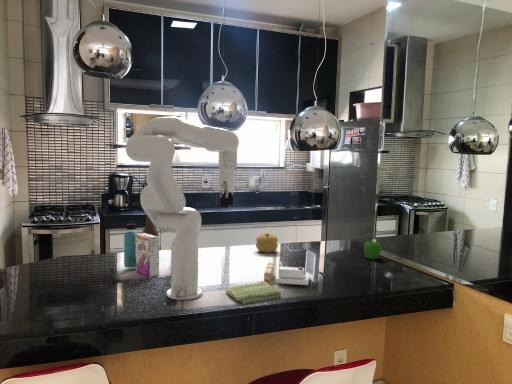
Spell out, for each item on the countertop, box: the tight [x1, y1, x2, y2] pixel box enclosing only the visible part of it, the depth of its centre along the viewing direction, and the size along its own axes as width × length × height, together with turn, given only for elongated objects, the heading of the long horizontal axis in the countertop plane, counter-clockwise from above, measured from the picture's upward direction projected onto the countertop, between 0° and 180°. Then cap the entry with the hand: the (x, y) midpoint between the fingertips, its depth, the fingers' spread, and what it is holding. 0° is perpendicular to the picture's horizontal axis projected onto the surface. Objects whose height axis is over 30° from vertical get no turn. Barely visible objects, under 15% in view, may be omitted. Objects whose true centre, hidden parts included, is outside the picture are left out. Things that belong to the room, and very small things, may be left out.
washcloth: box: [225, 280, 282, 305], centre depth 145 cm, size 13×18×3 cm
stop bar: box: [278, 266, 305, 280], centre depth 162 cm, size 4×10×6 cm, turn 83°
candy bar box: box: [135, 232, 160, 278], centre depth 168 cm, size 11×5×16 cm, turn 47°
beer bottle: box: [141, 213, 159, 237], centre depth 189 cm, size 8×8×24 cm
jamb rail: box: [263, 262, 275, 286], centre depth 164 cm, size 16×2×5 cm, turn 173°
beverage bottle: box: [123, 223, 140, 269], centre depth 174 cm, size 6×7×20 cm
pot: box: [255, 232, 279, 254], centre depth 213 cm, size 12×12×10 cm
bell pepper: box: [363, 239, 382, 260], centre depth 203 cm, size 8×8×10 cm
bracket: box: [275, 272, 309, 286], centre depth 163 cm, size 8×13×2 cm, turn 83°
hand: (226, 206), depth 166 cm, fingers open, 9 cm apart
